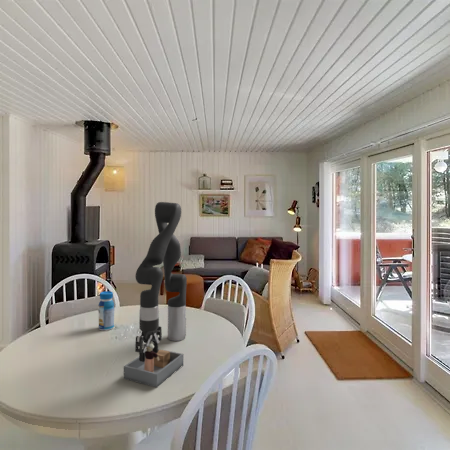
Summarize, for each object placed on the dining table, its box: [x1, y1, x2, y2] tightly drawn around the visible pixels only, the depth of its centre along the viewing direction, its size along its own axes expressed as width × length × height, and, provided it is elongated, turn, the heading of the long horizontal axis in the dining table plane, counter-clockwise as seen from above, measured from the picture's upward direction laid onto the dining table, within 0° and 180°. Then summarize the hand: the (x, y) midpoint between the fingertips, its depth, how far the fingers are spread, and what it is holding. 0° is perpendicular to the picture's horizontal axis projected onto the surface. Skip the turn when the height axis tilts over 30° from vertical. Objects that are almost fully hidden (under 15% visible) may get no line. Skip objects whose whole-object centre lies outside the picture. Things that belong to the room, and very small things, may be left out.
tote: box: [123, 348, 184, 388], centre depth 138 cm, size 20×16×5 cm
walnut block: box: [153, 349, 170, 368], centre depth 143 cm, size 5×5×5 cm
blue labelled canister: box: [97, 290, 115, 331], centre depth 186 cm, size 8×8×20 cm
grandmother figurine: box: [144, 342, 159, 372], centre depth 135 cm, size 8×4×13 cm, turn 94°
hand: (149, 356), depth 134 cm, fingers open, 8 cm apart
